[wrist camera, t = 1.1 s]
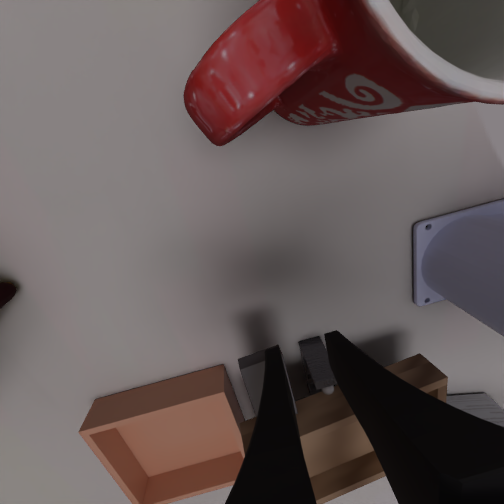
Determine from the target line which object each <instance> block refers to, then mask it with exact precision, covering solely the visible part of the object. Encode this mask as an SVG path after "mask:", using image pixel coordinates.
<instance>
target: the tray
mask: <svg viewBox="0 0 504 504" xmlns="http://www.w3.org/2000/svg"><path fill="white" fill-rule="evenodd" d="M244 421H245V420H244V417H243V414H242V412H241V409H240V406H239V404H238V401H237V398H236V396H235V393H234V390H233V388H232V385H231V382H230V380H229V377H228V374H227V372H226V369H225V366H224V364H222V365H219V366H215V367H212V368H208V369H204V370H201V371H197V372H193V373H190V374H186V375H182V376H179V377H175V378H172V379H168V380H164V381H161V382H157V383H153V384H150V385H146V386H143V387H139V388H135V389H132V390H128V391H124V392H121V393H117V394H114V395H110V396H106V397H103V398H99V399H95V401H94V403H93V405H92V407H91V409H90V410H89V412H88V414H87V416H86V418H85V420H84V422H83V424H82V426H81V428H80V430H79V434H80V435H81V436H82V438H83V439H84V440H85V442H86V443H87V444H88V446H89V447H90V448H91V450H92V451H93V452H94V454H95V455H96V456H97V458H98V459H99V460H100V462H101V463H102V464H103V466H104V467H105V468H106V469H107V471H108V472H109V473H110V475H111V476H112V477H113V479H114V480H115V481H116V483H117V484H118V485H119V487H120V488H121V489H122V491H123V492H124V493H125V495H126V496H127V497H128V499H129V500H130V501H131V503H132V504H168V503H171V502H175V501H178V500H182V499H185V498H189V497H192V496H196V495H200V494H203V493H207V492H210V491H214V490H217V489H221V488H224V487H228V486H231V485H234V483H235V480H236V478H237V475H238V473H239V470H240V468H241V465H242V463H243V460H244V457H245V454H244V448H243V442H242V437H241V431H240V425H239V423H241V422H244Z"/></svg>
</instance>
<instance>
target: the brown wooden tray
mask: <svg viewBox="0 0 504 504" xmlns="http://www.w3.org/2000/svg"><path fill="white" fill-rule="evenodd" d="M274 347H279V346H278V345H276V346H273V347H270V348H267V349H271V348H274ZM267 349H265V350H262V351H259V352H256V353H253V354H251V355H248V356H245V357H242V358H239V359H238V362H239V367H240V371H241V374H242V376H243V379H244V382H245V385H246V388H247V391H248V394H249V397H250V400H251V402H252V405H253V408H254V411H255V414H256V417H254V418H252V419H249V420H246V421H244V422H241V423H239V425H240V431H241V437H242V442H243V448H244V454H245V455H246V452H247V449H248V446H249V443H250V439H251V436H252V433H253V430H254V426H255V422H256V418H257V414H258V410H259V405H260V400H261V395H262V389H263V381H264V372H265V353H264V352H265V351H266V350H267ZM279 350H280V348H279ZM280 353H281V356H282V360H283V364H284V368H285V371H286V375H287V379H288V383H289V387H290V391H291V395H292V398H293V403H294V408H295V413H296V419H297V424H298V429H299V434H300V439H301V444H302V450H303V454H304V459H305V462H306V466H307V470H308V473H309V477H310V481H311V484H312V488H313V492H314V495H315V499H316V503H317V504H323V503H325V502H328V501H330V500H332V499H334V498H337V497H339V496H341V495H344V494H346V493H348V492H350V491H353V490H355V489H357V488H360V487H362V486H364V485H366V484H369V483H371V482H373V481H375V480H378V479H380V478H382V477H385V476H386V475H385V473H384V470H383V468H382V466H381V464H380V462H379V460H378V457H377V455H376V453H375V451H374V449H373V447H372V445H371V443H370V441H369V439H368V437H367V435H366V433H365V432H364V430H363V428H362V426H361V425H360V423H359V421H358V419H357V418H356V416H355V414H354V412H353V411H352V409H351V407H350V405H349V404H348V402H347V400H346V398H345V396H344V395H343V393H342V391H341V389H340V388H339V386H338V385H337V386H334V385H333V386H329V387H326V388H322V389H321V390H322V391H321V392H319V393H316V394H314V395H311V396H309V397H306V398H303V399H301V400H298V401H296V402H295V401H294V397H293V393H292V389H291V385H290V381H289V377H288V374H287V370H286V366H285V362H284V358H283V354H282V352H281V350H280ZM384 368H386V369H387V370H389V371H390V372H392V373H393V374H395V375H396V376H398V377H400V378H401V379H403V380H404V381H406V382H408V383H409V384H411V385H413V386H415V387H416V388H418V389H420V390H422V391H424V392H425V393H427V394H429V395H431V396H433V397H435V398H437V399H439V400H441V401H443V402H445V403H446V398H447V381H448V377H447V376H446V375H445V374H444V373H442V372H441V371H440V370H439V369H438V368H436V367H435V366H434V365H433V364H432V363H431V362H429V361H428V360H427V359H426V358H425V357H424V356H422V355H421V354H417V355H415V356H412V357H409V358H407V359H404V360H402V361H399V362H396V363H394V364H391V365H389V366H386V367H384Z"/></svg>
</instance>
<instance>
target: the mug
mask: <svg viewBox="0 0 504 504" xmlns="http://www.w3.org/2000/svg"><path fill="white" fill-rule="evenodd" d="M468 102H481V103H487V104H504V0H259V1H258V2H257V3H256V4H254V5H253V6H252V7H251V8H250V9H248V10H247V11H246V12H245V13H244V14H243V15H241V16H240V17H239V18H238V19H237V20H236V21H235V22H234V23H233V24H232V25H231V26H230V27H228V28H227V29H226V30H225V31H224V33H223V34H222V35H221V36H220V37H219V38H218V39H217V40H216V41H215V42H214V43H213V44H212V46H211V47H210V48H209V49H208V51H207V52H206V53H205V54H204V56H203V57H202V59H201V61H200V62H199V63H198V64H197V66H196V67H195V69H194V70H193V71H192V72H191V74H190V76H189V78H188V80H187V83H186V87H185V90H184V103H185V107H186V109H187V112H188V114H189V115H190V117H191V118H192V119H193V121H194V122H195V124H196V125H197V126H198V127H199V129H200V130H201V131H202V132H203V133H204V134H205V136H206V137H207V138H208V139H209V140H210V141H211V142H212V143H213V144H215V145H216V146H223V145H225V144H227V143H229V142H230V141H232V140H233V139H235V138H236V137H238V136H240V135H241V134H242V133H244V132H245V131H246V130H248V129H249V128H250V127H251V126H253V125H254V124H256V123H257V122H258V121H259V120H261V119H262V118H263V117H264V116H266V115H267V114H268V113H270V112H271V111H272V110H275V111H276V112H277V113H278V114H279V115H280V116H281V117H283V118H285V119H286V120H288V121H290V122H293V123H296V124H299V125H309V126H310V125H320V124H327V123H332V122H340V121H346V120H352V119H359V118H366V117H372V116H379V115H385V114H394V113H401V112H408V111H415V110H422V109H429V108H435V107H441V106H447V105H453V104H460V103H468Z"/></svg>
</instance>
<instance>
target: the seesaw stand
mask: <svg viewBox="0 0 504 504" xmlns="http://www.w3.org/2000/svg"><path fill="white" fill-rule="evenodd" d="M299 347H300V351H301V356H302V360H303V365H304V369H305V374H306V378H307V383H308V387H309V392H310V396H311V395H314V394H316V393H319V392H321V391H322V390H321V389H322V388H326V387H329V386H333V385H336V384H338V383H337V381H336V379H335V377H334V374H333V372H332V370H331V367H330V364H329V359H328V353H327V350H326V348H325V346H324V344H323V342H322V340H321V339H320V337H319V336H318V337H314V338H310V339H307V340H303V341H300V342H299Z"/></svg>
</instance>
